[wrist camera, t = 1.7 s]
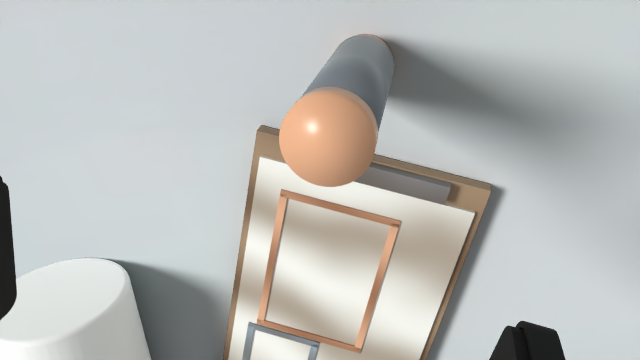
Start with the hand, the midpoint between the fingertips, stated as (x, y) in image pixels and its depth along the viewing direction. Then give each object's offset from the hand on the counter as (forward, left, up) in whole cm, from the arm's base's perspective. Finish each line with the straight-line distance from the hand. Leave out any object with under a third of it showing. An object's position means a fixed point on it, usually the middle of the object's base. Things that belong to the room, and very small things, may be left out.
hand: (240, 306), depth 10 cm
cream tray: (+15, +2, -18) cm, 24 cm away
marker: (0, 0, -18) cm, 18 cm away
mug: (+21, -14, -19) cm, 32 cm away
